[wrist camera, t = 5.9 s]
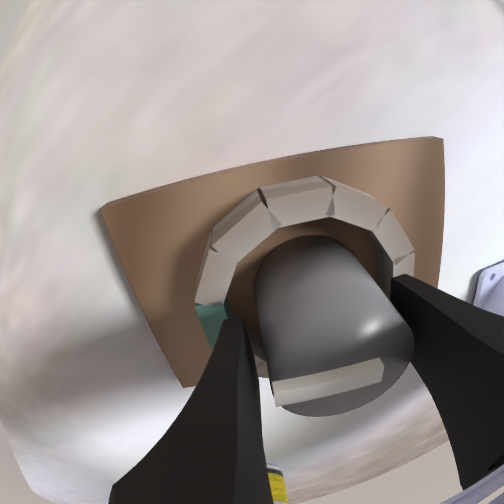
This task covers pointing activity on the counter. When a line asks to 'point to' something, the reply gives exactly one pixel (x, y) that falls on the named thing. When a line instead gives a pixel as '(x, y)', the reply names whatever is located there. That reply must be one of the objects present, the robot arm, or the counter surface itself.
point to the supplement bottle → (277, 484)
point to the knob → (327, 328)
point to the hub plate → (273, 234)
